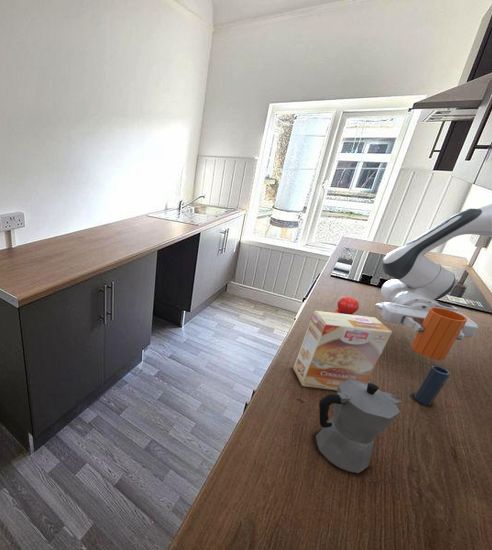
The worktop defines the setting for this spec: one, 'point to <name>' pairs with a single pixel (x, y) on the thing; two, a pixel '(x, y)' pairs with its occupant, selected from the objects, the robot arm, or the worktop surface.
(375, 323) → the coffeecake box
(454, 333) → the orange staved tumbler
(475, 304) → the worktop surface
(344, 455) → the coffeepot
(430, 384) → the slim cup
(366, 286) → the worktop surface
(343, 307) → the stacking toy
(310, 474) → the worktop surface
